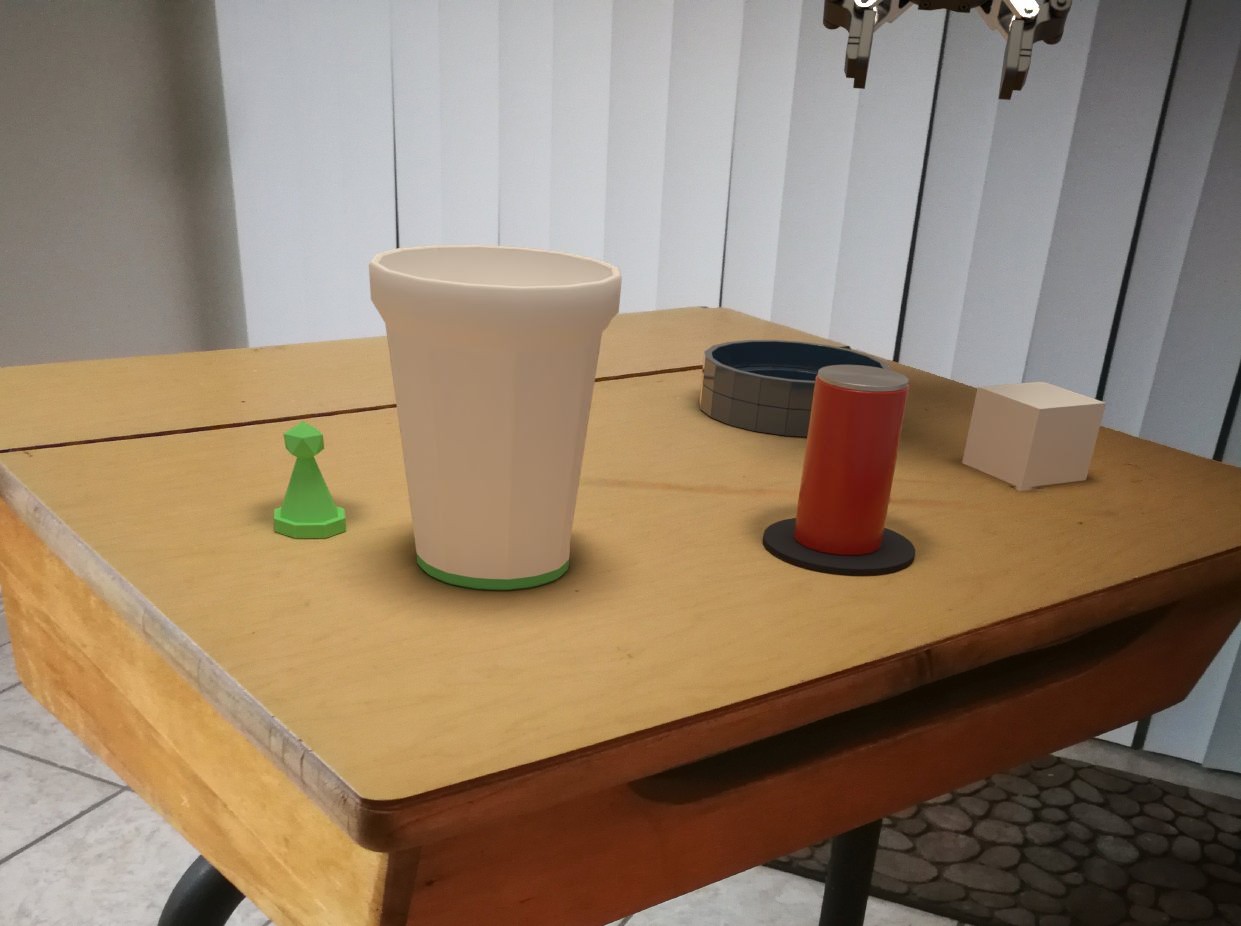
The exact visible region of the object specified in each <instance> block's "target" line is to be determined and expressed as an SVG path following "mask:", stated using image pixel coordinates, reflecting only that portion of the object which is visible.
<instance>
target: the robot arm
mask: <svg viewBox="0 0 1241 926" xmlns="http://www.w3.org/2000/svg"><path fill="white" fill-rule="evenodd" d="M823 4H824V5H823V14H822V25H823V26H824V28H826V29H828V30H833V31H834V30H838V29H839V28H843V29H845V30H846V31H847V33H848V36H847V37H848V38H847V42H846V43H847V44H846V49H845V57H844V65H843V66H844V68H843V72H844V75H845V78H846V79H853V84H852V85H853V87H852V88H853V89H862V90H865V89H866V83H867V77H868V71H869V65H870V59H871V54H872V53H871V51H872V46H873V40H874V33H875V32H876V31H878V30H879V29H880V28H881V27H882V26H883V25H884V24H886V23H888V24H892V23H894V22H895V21H896V20H897V19H899V17H901V16H902V15H903V14H904V13H905V12H906V11H907V10H908V9H910V8H911V7H912V6H913V5H916V6H917V10H918V11H936V10H948V11H952V12H954V13H961V14H963V13H964V14H970V13H971V9H975V10H976V12H977V13H978V15H979V16H980V17H981V19H982V20H983V21H984V22H985V23H986V25H987V26H988V28H989V29H990V30H991V31H995V30H997V31H998V32H999V33H1000V35H1001V36H1002V38H1003V39H1004V40H1005V42H1006V44H1005V47H1004V54H1003V59H1002V60H1003V61H1002V68H1001V75H1000V82H999V90H998V97H997V98H998V100H1003V101H1004V100H1005V101H1011V99H1012V96H1013V92H1014V91H1016V92H1017V91H1019V92H1021V91H1022V89H1023V88H1024V87H1025V85H1026V82H1027V78H1028V74H1029V71H1030V67H1031V63H1032V62H1031V61H1032V56H1033V55H1032V54H1033V47H1034V44H1036V43H1037V42H1041V41H1042V42H1043V43H1044V44H1046V45H1051V46H1053V45H1057V44H1059V43H1060V42H1061V40H1062V39H1063V35H1064V31H1065V25H1066V22H1067V19H1068V15H1069V13H1070V12H1071V9H1072V4H1073V0H1042V3H1040V4H1039V3H1038V2H1037V1H1036V0H824V1H823Z"/></svg>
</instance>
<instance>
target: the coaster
mask: <svg viewBox="0 0 1241 926" xmlns="http://www.w3.org/2000/svg"><path fill="white" fill-rule="evenodd" d="M795 521H796V517H791V518H786V519H782V520H779V521H776V522H774V523H772V524H770V525H769V526H767V527H766V528H765V530H764V531H763V534H762V543H763V546H764V548H765V549H766V550H767V551H768V552H769V553H770V554H772V555H773V556H775V557H776V558H778V559H780V560H782V561H783V562H787V563H789V564H791V565H795V566H797V567H801V568H804V569H808V570H811V571H816V572H822V573H827V574H834V575H835V574H836V575H845V576H877V575H883V574H884V575H885V574H890V573H895V572H898V571H901V570H903V569H906V568H907V567H909V566H910V565H912V563H913V562H914V559H915V556H916V547H915V545H914V543H912V542H911V541H910V539H908V538H907V537H906V536H904V535H902V534H900V533H899V532H897V531H895V530H892V529H890V528H887V527H884V532H883V538H882V543H881V547H880V548H879V549H878V550H877V551H875V552H873V553H869V554H865V555H854V556H847V555H834V554H828V553H823V552H819V551H815V550H812V549H809V548H807V547H805V546H803V545H801V544H799V543H798V542H797V541H796V540H795V538H794V528H795Z"/></svg>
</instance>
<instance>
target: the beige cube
mask: <svg viewBox="0 0 1241 926" xmlns="http://www.w3.org/2000/svg"><path fill="white" fill-rule="evenodd" d="M1106 405H1107V402H1105V401H1102V400H1099V399H1096V398H1093V397H1090V396H1087V395H1085V394H1080V393H1078V392H1075V391H1072V390H1069V389H1067V388H1063V387H1060V386H1057V385H1054V384H1051V383H1048V382H1045V381H1031V382H1020V383H1018V382H1017V383H1006V384H993V385H983V386H977V389H976V394H975V399H974V402H973V409H972V413H971V418H970V422H969V427H968V432H967V437H966V442H965V446H964V450H963V451H964V452H963V456H962V461H961V463H962V464H963V465H966V466H968V467H971V468H973V469H976V470H977V471H979V472H982V473H985V474H987V475H989V476H992V477H994V478H996V479H999V480H1001V481H1003V482H1005V483H1008V484H1010V485H1008V487H1009V488H1012V489H1013V490H1016V491H1019V492H1028V491H1035V490H1042V489H1044V486H1049V485H1050V486H1051V485H1058V484H1067V483H1074V482H1082V481H1087V477H1088V474H1089V470H1090V466H1091V462H1092V460H1093V459H1092V458H1093V455H1094V451H1095V447H1096V444H1097V439H1098V436H1099V432H1100V428H1101V424H1102V420H1103V417H1104V413H1105V408H1106ZM1042 486H1043V487H1042Z"/></svg>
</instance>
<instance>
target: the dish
mask: <svg viewBox="0 0 1241 926" xmlns="http://www.w3.org/2000/svg"><path fill="white" fill-rule="evenodd" d="M832 365H862V366H871V367H877V368H883V369H887V370H891V371H893V370H892V367H890V365H889V364H888V363H887V362H885V361H884V360H881V359H879V358H878V357H876V356H874V355H870V354H868V353H864V352H861V351H857V350H854V349H849V348H845V347H840V346H836V345H831V344H824V343H816V342H809V341H808V342H807V341H798V340H784V339H781V340H780V339H746V340H745V339H743V340H735V341H734V340H733V341H727V342H721V343H718V344H713V345H711V346H710V347H708V348H707V349H705V350H704V351H703V358H702V368H701V369H702V370H701V380H700V391H699V401H698V402H699V409H700V410H701V412H703V413H704V414H706V415H707V416H708V417H710V418H712V419H713V420H716V421H718V422H721V423H724V424H727V425H728V426H732V427H736V428H739V429H740V428H741V429H743V430H746V431H747V430H748V431H752V432H757V433H763V434H770V435H776V436H783V437H784V436H785V437H796V438H797V437H799V438H807V435H808V428H809V421H810V414H811V407H812V400H813V392H814V385H815V378H816V376H817V375H818V371H819V369H821V368H823V367H826V366H832Z"/></svg>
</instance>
